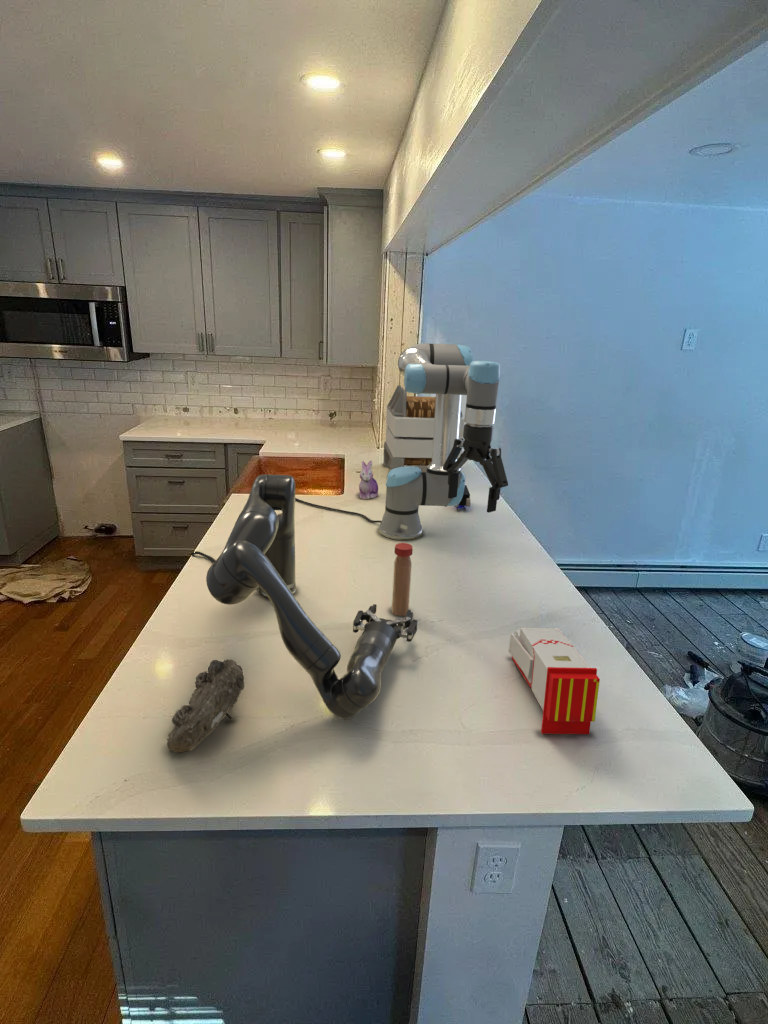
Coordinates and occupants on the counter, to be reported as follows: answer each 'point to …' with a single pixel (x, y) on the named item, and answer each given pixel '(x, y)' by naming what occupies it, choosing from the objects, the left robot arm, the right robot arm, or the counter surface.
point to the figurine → (367, 482)
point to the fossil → (206, 705)
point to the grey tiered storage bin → (410, 430)
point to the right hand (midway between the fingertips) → (471, 504)
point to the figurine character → (464, 499)
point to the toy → (557, 679)
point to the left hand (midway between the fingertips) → (392, 610)
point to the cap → (403, 549)
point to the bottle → (401, 585)
